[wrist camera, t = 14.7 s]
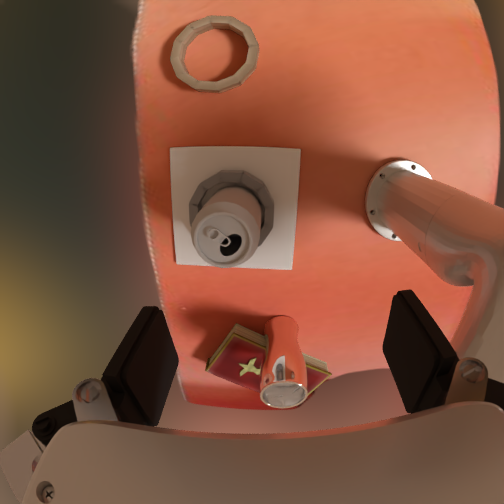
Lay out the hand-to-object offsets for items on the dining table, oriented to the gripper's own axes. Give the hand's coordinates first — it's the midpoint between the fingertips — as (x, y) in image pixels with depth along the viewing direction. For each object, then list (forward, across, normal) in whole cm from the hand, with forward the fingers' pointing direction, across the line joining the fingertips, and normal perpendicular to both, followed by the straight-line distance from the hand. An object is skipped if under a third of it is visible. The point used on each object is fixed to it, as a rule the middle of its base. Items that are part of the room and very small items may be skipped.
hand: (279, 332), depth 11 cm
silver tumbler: (+31, 0, +25) cm, 39 cm away
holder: (+30, +6, +3) cm, 31 cm away
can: (+30, +5, +3) cm, 31 cm away
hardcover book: (+31, +3, +34) cm, 46 cm away
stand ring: (+30, +6, -20) cm, 37 cm away
